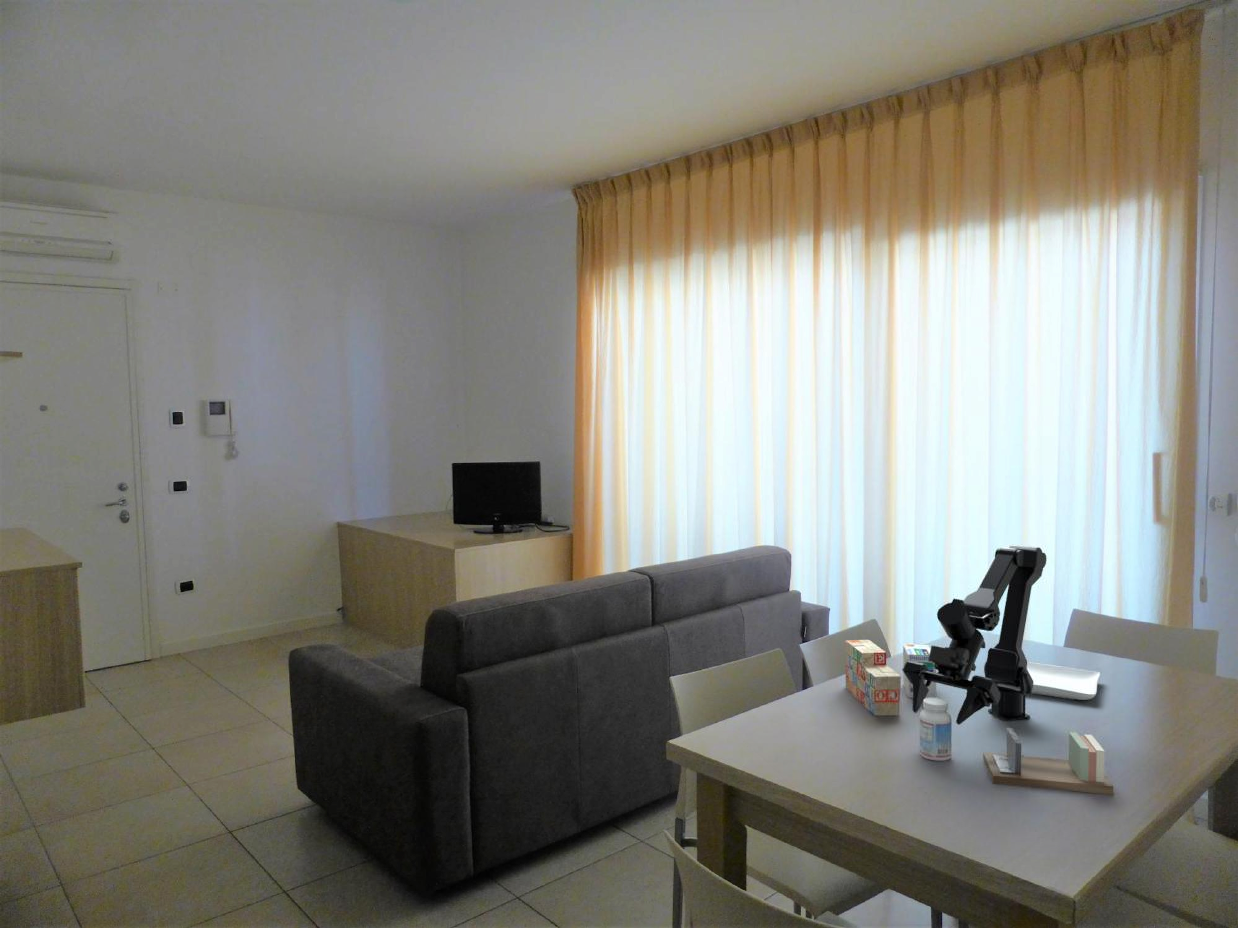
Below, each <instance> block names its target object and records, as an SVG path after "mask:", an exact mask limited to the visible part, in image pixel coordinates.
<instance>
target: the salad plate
mask: <svg viewBox="0 0 1238 928" xmlns="http://www.w3.org/2000/svg"><path fill="white" fill-rule="evenodd" d="M1027 670H1028V672H1029V674H1030V676H1031V678H1032V679H1033V689H1032V693H1031V694H1034V695H1041V696H1047V697H1053V696H1054V697H1055V698H1060V697H1061V698H1062V699H1066V698H1068V699H1067V700H1074V699H1077V701H1086V700H1087V701H1088V700H1091V699H1093V698H1094V697H1096V695H1097V692H1098V682H1099V680H1100V677H1101V673H1100V672H1098V671H1095V670H1087V669H1080V668H1073V667H1068V666H1067V667H1066V666H1061V665H1053V664H1046V663H1037V662H1032V661H1031V662H1030V661H1027ZM1054 697H1053V698H1054ZM1061 698H1060V699H1061Z"/></svg>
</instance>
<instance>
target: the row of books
mask: <svg viewBox="0 0 1238 928" xmlns="http://www.w3.org/2000/svg"><path fill="white" fill-rule="evenodd" d="M1105 752H1106V750H1104V748H1103V747H1102V746H1101V744H1100V743H1099V742H1098V741H1097V740H1096V738H1095V737H1094V736H1093V734H1083V735H1079V734H1078V733H1077V732H1073V731H1069V733H1068V760H1069V764H1070V766H1071V767H1072V769H1073V770H1074V772H1075V773H1076V775H1077V776H1078V777H1079V779H1080V780H1084V781H1096V782H1104V775H1105V761H1106V760H1105V758H1106V757H1105V756H1106V755H1105Z"/></svg>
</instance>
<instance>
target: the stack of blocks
mask: <svg viewBox="0 0 1238 928" xmlns="http://www.w3.org/2000/svg"><path fill="white" fill-rule="evenodd" d="M844 643H845V645H844V646H845V660H844V661H845V688H846V687H847V688H848V689H849V690H848V689H847V688H846V689H847V690H848V692H850V691H851V692H850V693H851V695H853V694H854V695H853V697H854V698H856V699H857V700H858V699H859V700H858V701H859V702H860V703H861V702H862V703H861V704H862V705H863V704H864V705H863V706H864V707H865V708H866V709H867V710H868V711H869V712H870V713H871V714H872V715H873V716H900V714H901V713H900V712H901V711H900V710H901V709H900V707H901V705H900V703H901V679H902V677H901V676H902V675H900V674H899V673H897V672H896V671H895V670H894V669H892V668H891V667H890V666H888V665H887V652H886V651H885V650H883V648H881V647H879V646H878V645H877V644H875V643H874V642H873V641H871V640H869V639H858V640H857V639H854V640H853V639H852V640H847V639H846V640H845V642H844Z"/></svg>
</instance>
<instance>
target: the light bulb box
mask: <svg viewBox="0 0 1238 928" xmlns="http://www.w3.org/2000/svg"><path fill="white" fill-rule="evenodd" d="M902 646H903V647H902V649H903V650H902V651H903V652H902V653H903V654H902V655H903V656H902V658H903V662H902V663H903V665H902V668H903V667H904V665H905V663H906V662H907V661H914V662H919V663H923V664H925V665H926V667H927V668H928V670H929V671H930V672H935V673H937V669H935V667H934V664H935V663H934V662H932V661H931V662H930V661H928V659H929V655H930V650H931V645H929V644H928V645H927V644H912V643H903V644H902ZM902 674H903V677H902V678H903V680H902V682H903V683H902V685H903V688H904V690H905V692H906V695H907V697H908V698H912V699H913V684H911V683H910V681H909V680H908V678H907V677H906V675H905V673H904V672H903V671H902ZM927 688H928V689H929V691H928V693H927V695H926V697H925V698H931V697H934V698H937V683H936V682H931V684H930V686H928V687H927Z"/></svg>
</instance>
